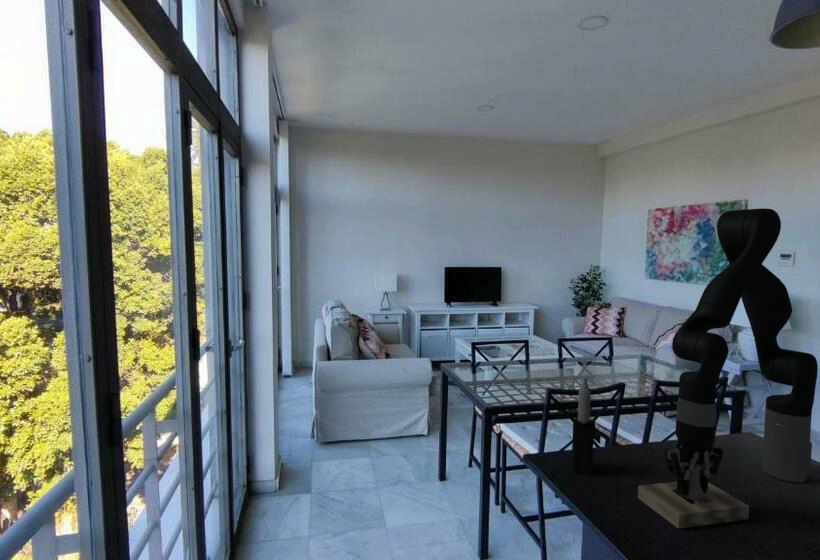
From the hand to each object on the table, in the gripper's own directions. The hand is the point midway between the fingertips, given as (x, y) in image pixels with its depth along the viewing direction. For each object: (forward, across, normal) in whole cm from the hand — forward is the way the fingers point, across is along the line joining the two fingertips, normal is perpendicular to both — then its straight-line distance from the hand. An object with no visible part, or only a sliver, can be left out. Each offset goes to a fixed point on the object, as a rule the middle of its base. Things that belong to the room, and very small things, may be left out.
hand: (692, 492), depth 101 cm
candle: (+4, +14, -21) cm, 26 cm away
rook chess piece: (+1, 0, 0) cm, 1 cm away
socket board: (+4, 0, 0) cm, 4 cm away
